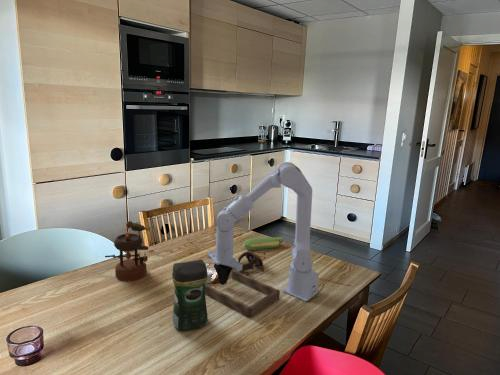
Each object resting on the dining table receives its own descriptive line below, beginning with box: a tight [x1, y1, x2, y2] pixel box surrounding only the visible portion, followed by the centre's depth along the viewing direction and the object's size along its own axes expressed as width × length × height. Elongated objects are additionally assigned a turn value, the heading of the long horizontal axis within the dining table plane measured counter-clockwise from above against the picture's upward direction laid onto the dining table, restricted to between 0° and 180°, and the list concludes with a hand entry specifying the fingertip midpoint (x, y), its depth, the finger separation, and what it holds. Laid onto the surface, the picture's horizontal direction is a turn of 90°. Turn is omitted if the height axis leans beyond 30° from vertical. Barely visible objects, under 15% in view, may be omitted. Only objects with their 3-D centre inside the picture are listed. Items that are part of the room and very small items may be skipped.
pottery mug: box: [237, 249, 265, 272], centre depth 137 cm, size 12×10×8 cm
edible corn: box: [242, 236, 285, 251], centre depth 158 cm, size 5×20×5 cm
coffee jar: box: [171, 258, 208, 332], centre depth 101 cm, size 10×8×19 cm
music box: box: [104, 220, 151, 282], centre depth 126 cm, size 15×11×20 cm
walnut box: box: [205, 269, 281, 319], centre depth 118 cm, size 20×15×3 cm
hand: (223, 283), depth 123 cm, fingers closed
